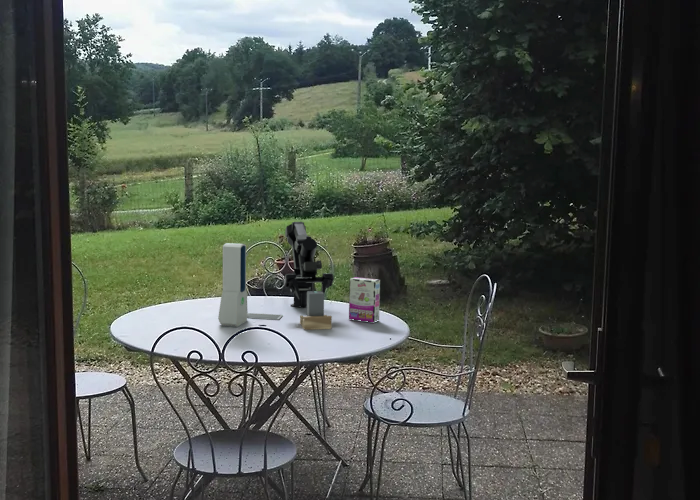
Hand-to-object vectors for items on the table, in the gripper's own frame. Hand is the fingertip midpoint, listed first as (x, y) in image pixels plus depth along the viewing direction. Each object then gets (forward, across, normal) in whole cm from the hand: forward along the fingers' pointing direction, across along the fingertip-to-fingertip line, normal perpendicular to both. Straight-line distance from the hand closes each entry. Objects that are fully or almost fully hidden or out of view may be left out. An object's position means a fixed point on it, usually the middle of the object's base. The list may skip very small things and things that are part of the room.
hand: (311, 298), depth 287 cm
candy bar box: (+8, +20, +4) cm, 22 cm away
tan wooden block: (+13, 0, -1) cm, 13 cm away
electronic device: (+7, -30, +5) cm, 31 cm away
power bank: (+12, 0, -1) cm, 12 cm away
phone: (+1, -18, +12) cm, 21 cm away
